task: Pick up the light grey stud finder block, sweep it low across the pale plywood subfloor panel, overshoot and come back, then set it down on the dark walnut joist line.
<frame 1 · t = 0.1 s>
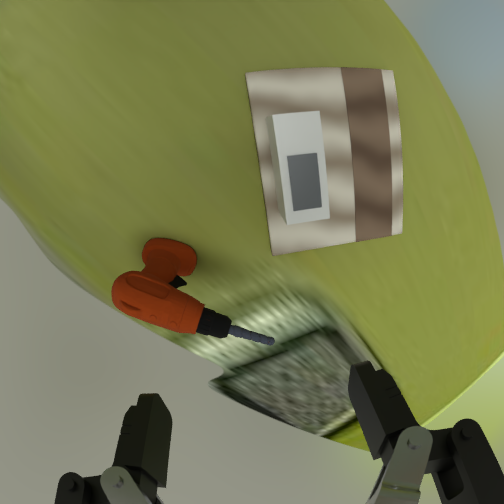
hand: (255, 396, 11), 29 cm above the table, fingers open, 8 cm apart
subfloor panel: (334, 156, 35), on the table
toy drill: (200, 263, 40), on the table
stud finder: (292, 162, 34), point 1 cm above the table, touching subfloor panel
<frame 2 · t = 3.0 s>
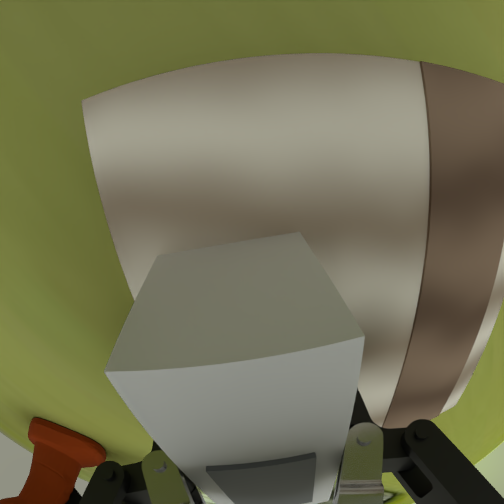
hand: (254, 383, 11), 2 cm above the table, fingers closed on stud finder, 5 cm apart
subfloor panel: (368, 324, 13), on the table
toy drill: (114, 453, 18), on the table
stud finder: (252, 366, 12), point 1 cm above the table, touching gripper, subfloor panel
when the fingers open (3 cm above the table, at t = 11.3 s): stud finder stays where it is, resting on subfloor panel.
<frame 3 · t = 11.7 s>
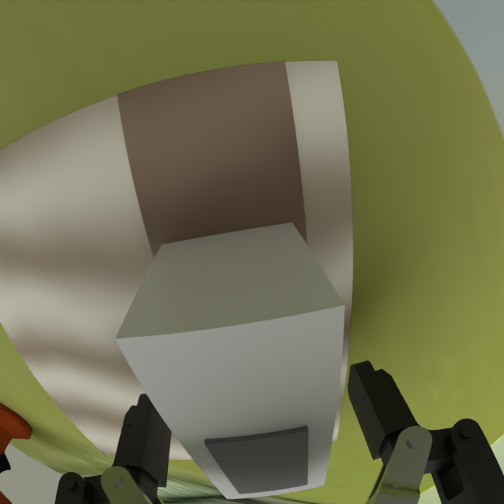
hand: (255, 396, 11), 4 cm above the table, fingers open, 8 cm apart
subfloor panel: (156, 345, 14), on the table
toy drill: (36, 429, 19), on the table
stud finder: (250, 351, 13), point 1 cm above the table, touching subfloor panel
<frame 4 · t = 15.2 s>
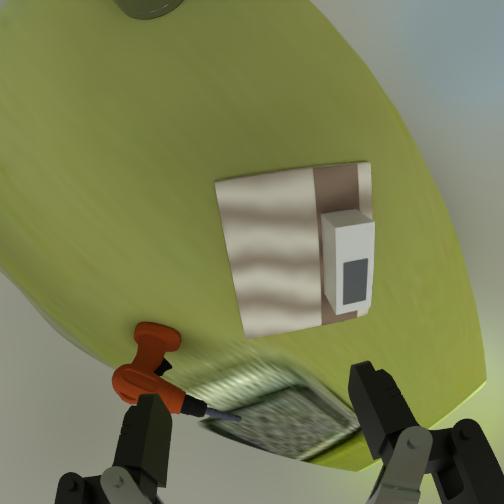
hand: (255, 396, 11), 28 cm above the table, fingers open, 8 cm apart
subfloor panel: (303, 255, 40), on the table
toy drill: (184, 341, 45), on the table
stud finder: (340, 253, 38), point 1 cm above the table, touching subfloor panel
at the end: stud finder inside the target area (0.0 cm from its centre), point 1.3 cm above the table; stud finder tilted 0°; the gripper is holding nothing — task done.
